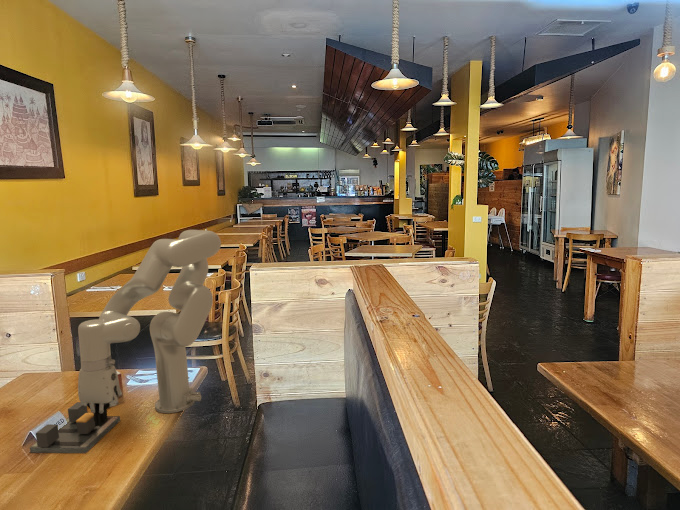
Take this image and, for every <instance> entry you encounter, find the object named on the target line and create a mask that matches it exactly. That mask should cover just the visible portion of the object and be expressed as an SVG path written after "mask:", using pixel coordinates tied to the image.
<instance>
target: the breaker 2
mask: <svg viewBox="0 0 680 510" xmlns="http://www.w3.org/2000/svg"><path fill="white" fill-rule="evenodd" d="M80 402H81V401H79V402H78V401H77V402H75V403H74V404H73V405H72V406H69V408H67V413H68V418H69V422H76V420H78V419H79V418H80V417H81V416H83V415H84V414H85V413H89V412H88V407H87V406H84V405H81V404H80Z"/></svg>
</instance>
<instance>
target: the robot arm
mask: <svg viewBox="0 0 680 510" xmlns="http://www.w3.org/2000/svg"><path fill="white" fill-rule="evenodd" d="M221 245H222V241H221V238H220V236H219V234H217V233H216V232H214V231H212V230H206V229H205V230H203V229H188V230H184V231H182V232H181V233H180V234H179V235H178V239H175V238H160V239H157V240H155V241H154V242H153V243H152V244H151V245H150V247H149V249H148V250H147V253H145V256H144V257H143V258H142V261H141V263H140V264H139V266H138V268H137V269H136V271H135V272H134V274H133V276H132V277H131V278H130V280H128V281H127V282H126V283H125V284H124V285H122V287H121V288H119V289H118V290H117V291H116V292H115V293H114V294H113V295H112V296H111V297H110V299H109V300H108V301H107V303H106V305H105V306H104V308H103V310H102V311H101V314H100V316H99V317H98V318H97V319H89V320H85V321H82V322H81V323H80V324H79V325H78V326H77V327H78V328H77V329H78V330H77V333H78V334H77V335H78V344H79V345H78V346H79V355H80V369H79V372H78V379H77V392H78V393H77V395H78V400H79V402H80V404H81V405H84V406H87V408H88V409H89V410H90V413H94V422H95V426H99V427H101V426H102V425H104V424H105V423H106V422H107V416H108V409H109V408H111V407H115V406H117V405H119V404H118V403H119V402H118V399H117V397H119V396H120V386H119V380H118V375H117V372H116V370H117V368H116V367H115V364H116V360H115V359H113V358H112V356H111V354H112V353H111V344H115V343H118V344H119V343H126V342H130V341H132V340H134V339H136V338H137V336H138V335H139V333H140V331H141V324H140V322H139V320H138V319H136V318H135V317H133V316H130V315H128V314H129V313H130V311H131V309H132V308H133V307H134V306H135V305H136V304H137V303H138V302H140V301H141V300H143V299H145V298H146V297H149V296H152V295H154V294H156V293H157V292H159V290H161V287H162V286H163V283H164V282H165V279H166V278H167V276H168V275H169V273H170V271H171V269H172V267H175V268H181V269H180V272H179V274H178V276H177V278H176V280H175V282H174V284H173V286H172V288H171V290H170V292H169V295H168V303H169V306H170V307H171V308H174V309H176V310H178V311H180V313H177V312H172V311H162V312H159V313H157V314H155V315H154V316H153V317H152V319H151V321H150V324H149V334H150V337H151V338H150V339H151V342H152V345H153V350H154V356H155V357H154V358H155V359H154V360H155V369H156V379H157V387H158V390H157V391H158V398H159V399H157V400H156V401H155V403H154V409H155V411H157V412H158V413H162V414H174V413H178V412H182V411H185V410H187V409H189V408H191V407H192V406H193V405H194V404H195V402H201V401H202V395H201V392H200V391H198V392H194V391H193V387H190V382H189V381H190V379H189V370H188V359H187V357H188V356H187V349H186V348H187V347H188V346H191V345H192V344H193V343H194V342H195V341H196V340H197V338H198V337H199V335H200V333H201V331H202V329H203V327H204V325H205V323H206V321H207V319H208V316H209V314H210V312H211V310H212V306H213V300H214V298H213V293H212V291H211V289H210V288H208V287H207V286H205V285H204V283H205V281H206V279H207V276H208V273H209V263H208V258H212V257H213V256H215V255H217V253H218V252H219V251H220V250H221Z"/></svg>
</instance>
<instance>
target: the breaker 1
mask: <svg viewBox="0 0 680 510" xmlns="http://www.w3.org/2000/svg"><path fill="white" fill-rule="evenodd" d="M35 438H36V442H37V446H38V447H49V446H50V445H51V444H52V443H53V442H55V441H56V440H57V439H58V438H59V433H58V424H51V423H50V424H46V425H44V426H43V427H42V428H40V429H39V430H38V431H36V432H35Z"/></svg>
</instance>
